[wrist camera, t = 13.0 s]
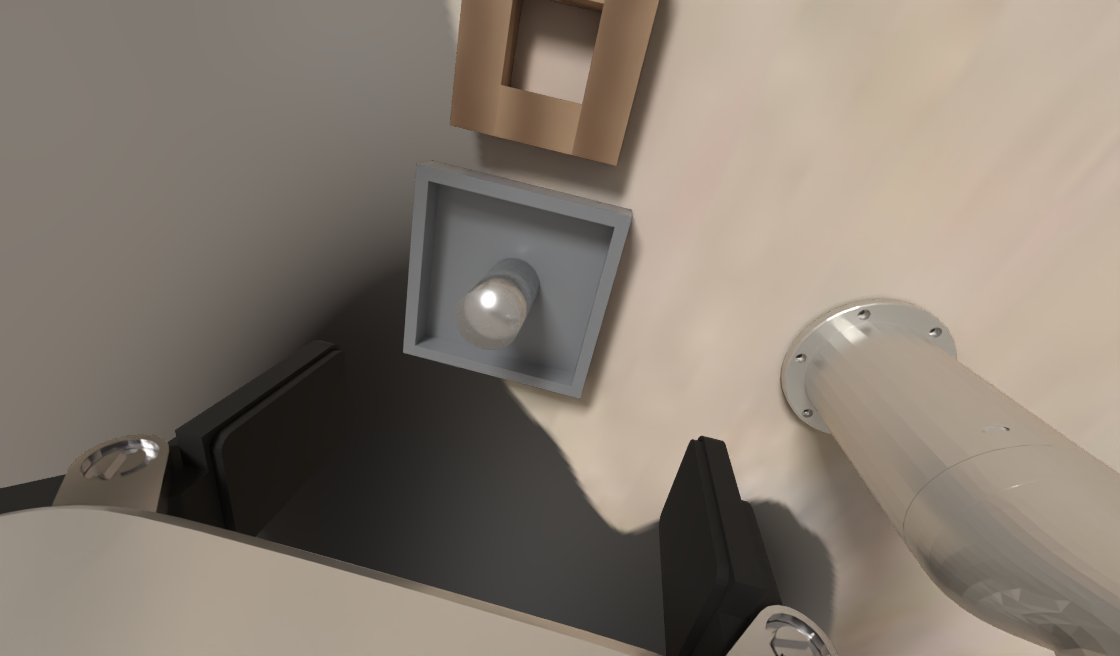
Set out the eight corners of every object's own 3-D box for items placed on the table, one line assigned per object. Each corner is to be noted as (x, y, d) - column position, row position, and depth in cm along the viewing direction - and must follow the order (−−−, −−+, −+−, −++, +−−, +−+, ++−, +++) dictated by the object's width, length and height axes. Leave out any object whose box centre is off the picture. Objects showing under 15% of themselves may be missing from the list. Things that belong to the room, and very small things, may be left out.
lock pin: (544, 265, 36) (524, 299, 29) (534, 313, 38) (513, 356, 31) (492, 252, 36) (459, 283, 29) (484, 301, 38) (452, 341, 31)
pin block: (668, -36, 28) (672, -51, 25) (616, 163, 33) (616, 165, 31) (483, -79, 28) (471, -97, 26) (461, 125, 33) (449, 125, 31)
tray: (631, 209, 34) (632, 217, 31) (582, 380, 41) (579, 398, 38) (432, 160, 34) (416, 163, 32) (417, 337, 41) (403, 352, 39)
